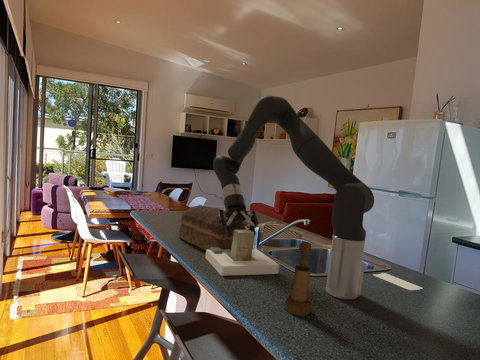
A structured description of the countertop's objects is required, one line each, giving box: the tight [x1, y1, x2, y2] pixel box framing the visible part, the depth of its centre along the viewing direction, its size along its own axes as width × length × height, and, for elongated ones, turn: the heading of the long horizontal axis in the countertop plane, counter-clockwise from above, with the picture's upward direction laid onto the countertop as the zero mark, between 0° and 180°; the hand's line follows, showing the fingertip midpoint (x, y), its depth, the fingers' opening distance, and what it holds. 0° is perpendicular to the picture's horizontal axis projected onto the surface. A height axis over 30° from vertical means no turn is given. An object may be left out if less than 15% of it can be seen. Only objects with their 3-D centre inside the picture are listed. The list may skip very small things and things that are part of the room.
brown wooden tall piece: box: [284, 241, 312, 317], centre depth 93 cm, size 7×6×18 cm
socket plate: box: [204, 247, 280, 277], centre depth 125 cm, size 20×18×4 cm
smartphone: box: [371, 272, 425, 292], centre depth 126 cm, size 8×1×16 cm
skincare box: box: [230, 229, 255, 261], centre depth 125 cm, size 6×4×12 cm
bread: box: [178, 204, 247, 252], centre depth 146 cm, size 15×32×16 cm, turn 40°
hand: (241, 237), depth 125 cm, fingers open, 8 cm apart
